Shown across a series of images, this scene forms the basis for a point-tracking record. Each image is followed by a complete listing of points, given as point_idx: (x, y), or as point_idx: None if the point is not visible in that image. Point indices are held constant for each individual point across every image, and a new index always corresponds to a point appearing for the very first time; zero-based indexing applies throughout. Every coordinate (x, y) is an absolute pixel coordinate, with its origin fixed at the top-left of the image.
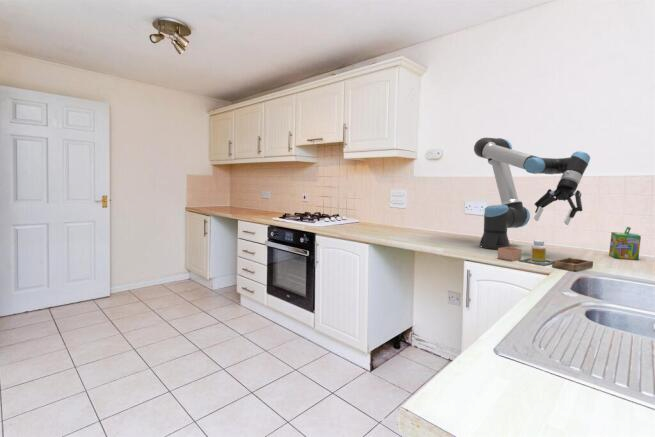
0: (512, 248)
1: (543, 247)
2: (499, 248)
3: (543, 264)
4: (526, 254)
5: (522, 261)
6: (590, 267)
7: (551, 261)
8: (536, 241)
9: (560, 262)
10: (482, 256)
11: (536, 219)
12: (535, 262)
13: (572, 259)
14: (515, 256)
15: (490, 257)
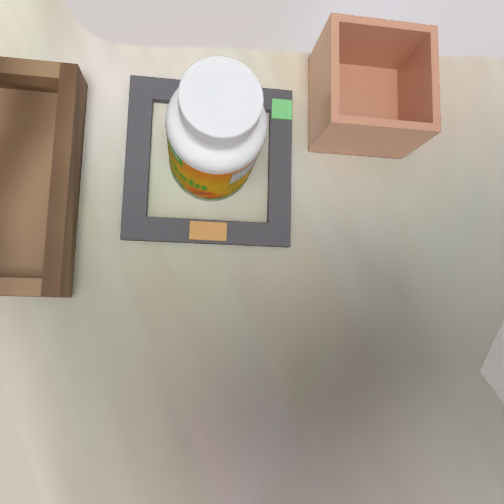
0: (391, 121)
1: (170, 100)
2: (426, 25)
3: (138, 84)
4: (388, 368)
5: (266, 89)
6: None
7: (152, 223)
8: (223, 57)
9: (23, 59)
10: (480, 56)
11: (501, 332)
12: None
13: (29, 278)
14: (316, 76)
15: (440, 66)
